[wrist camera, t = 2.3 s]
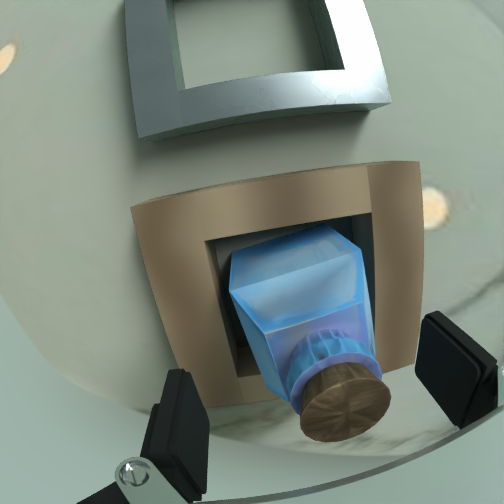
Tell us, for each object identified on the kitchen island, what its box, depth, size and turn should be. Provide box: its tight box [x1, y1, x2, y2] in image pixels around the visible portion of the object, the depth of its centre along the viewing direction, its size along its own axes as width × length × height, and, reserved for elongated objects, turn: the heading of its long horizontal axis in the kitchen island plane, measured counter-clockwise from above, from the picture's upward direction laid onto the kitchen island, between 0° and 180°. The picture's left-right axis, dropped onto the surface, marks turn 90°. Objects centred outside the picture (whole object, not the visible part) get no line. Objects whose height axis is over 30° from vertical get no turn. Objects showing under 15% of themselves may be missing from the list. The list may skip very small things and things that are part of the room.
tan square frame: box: [130, 161, 424, 408], centre depth 18 cm, size 16×14×4 cm
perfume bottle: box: [229, 223, 391, 442], centre depth 14 cm, size 6×6×12 cm
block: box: [124, 0, 391, 142], centre depth 13 cm, size 14×13×3 cm
